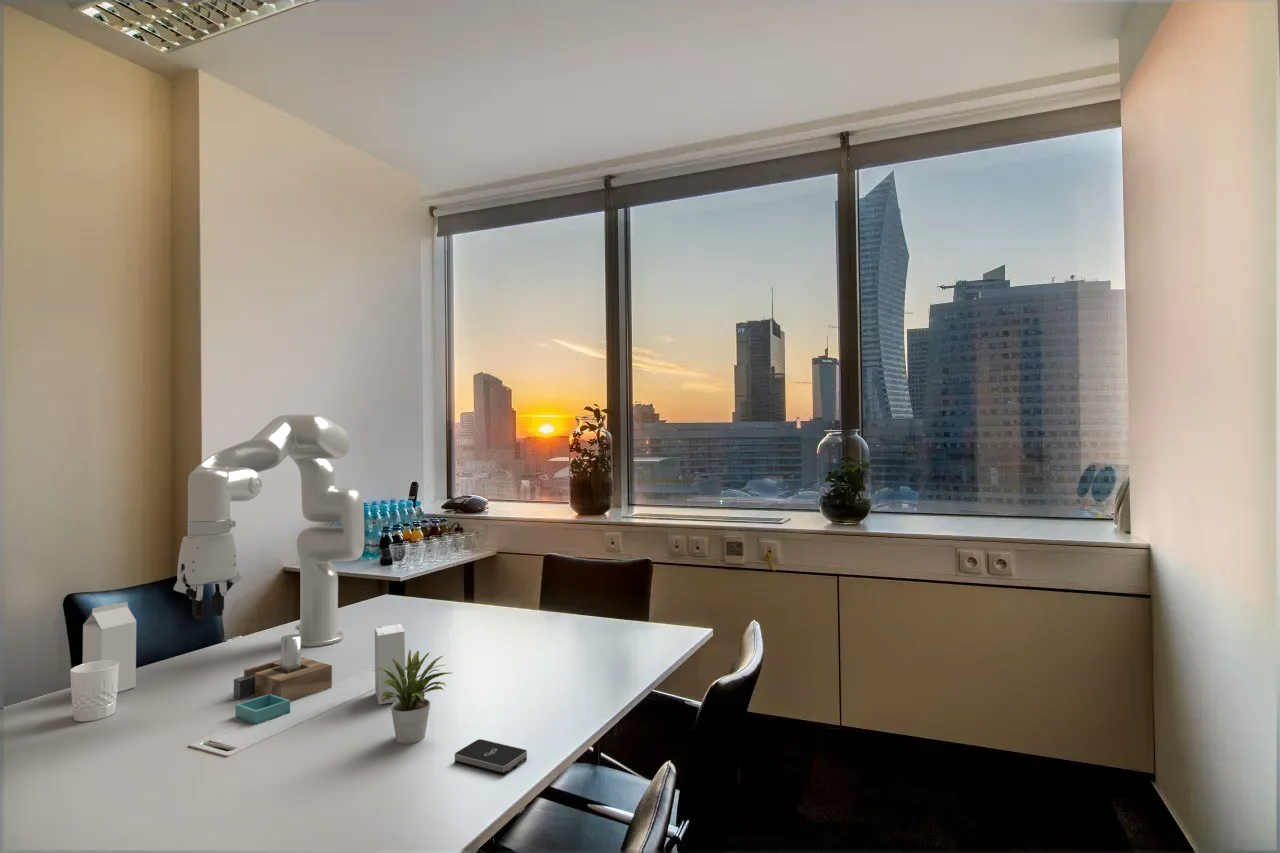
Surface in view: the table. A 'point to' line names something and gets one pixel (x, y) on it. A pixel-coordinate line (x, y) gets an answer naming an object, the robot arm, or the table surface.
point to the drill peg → (290, 653)
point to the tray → (262, 708)
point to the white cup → (94, 690)
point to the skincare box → (388, 659)
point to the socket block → (291, 679)
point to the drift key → (244, 686)
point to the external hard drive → (491, 757)
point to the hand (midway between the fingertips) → (208, 615)
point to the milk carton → (112, 640)
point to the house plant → (411, 699)
